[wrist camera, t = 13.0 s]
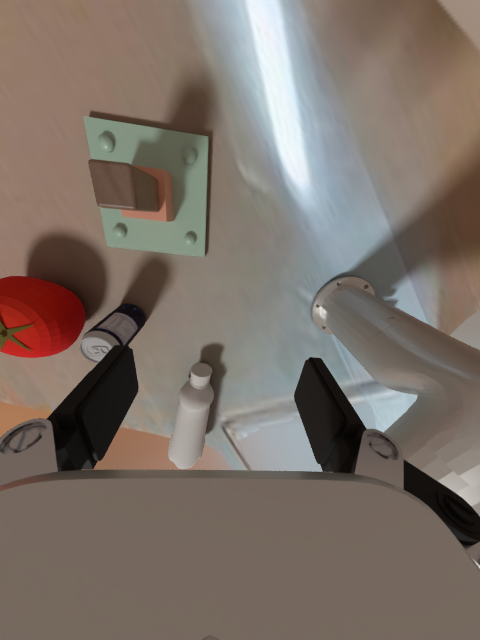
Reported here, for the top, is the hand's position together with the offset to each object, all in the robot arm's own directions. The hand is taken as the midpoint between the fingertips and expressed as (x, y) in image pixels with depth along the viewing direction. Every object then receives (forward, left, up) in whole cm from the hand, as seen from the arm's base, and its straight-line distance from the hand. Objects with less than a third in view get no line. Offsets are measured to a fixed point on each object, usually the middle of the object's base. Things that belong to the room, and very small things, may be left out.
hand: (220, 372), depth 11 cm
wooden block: (+12, -9, -24) cm, 28 cm away
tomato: (+31, +11, -28) cm, 44 cm away
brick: (+12, -9, -27) cm, 31 cm away
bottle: (+5, +37, -29) cm, 47 cm away
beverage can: (+18, +12, -28) cm, 36 cm away
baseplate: (+12, -9, -28) cm, 32 cm away
